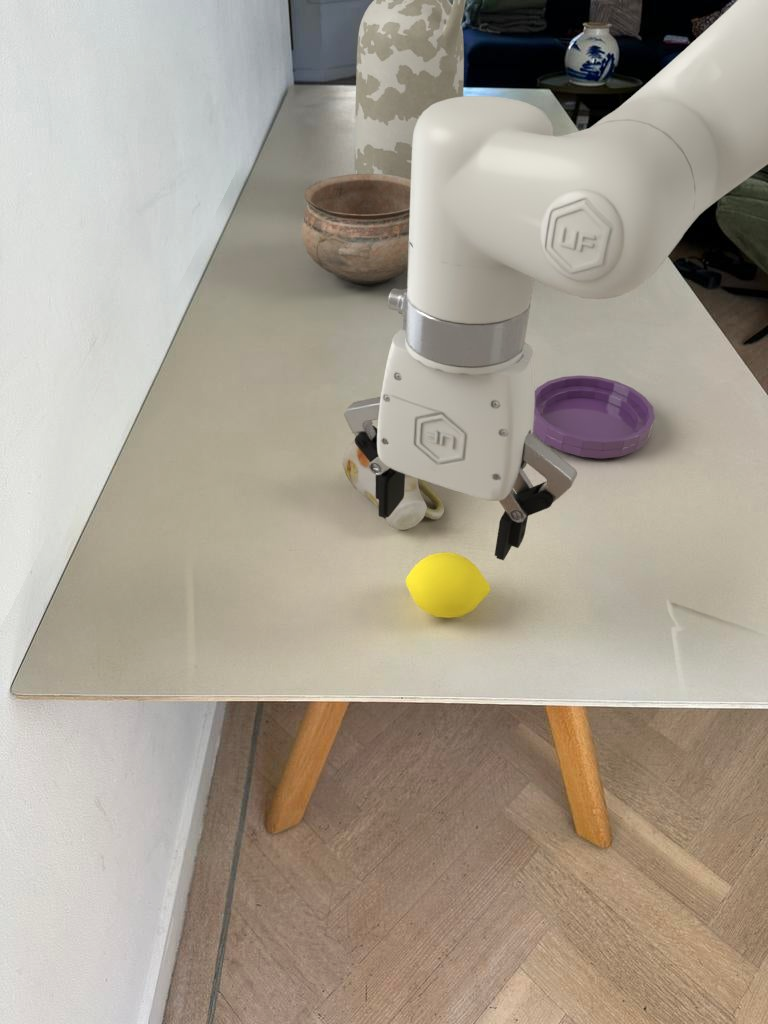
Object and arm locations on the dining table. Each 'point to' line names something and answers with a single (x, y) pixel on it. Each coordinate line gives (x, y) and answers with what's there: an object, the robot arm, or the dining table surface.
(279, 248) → the dining table surface
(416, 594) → the lemon
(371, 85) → the vase
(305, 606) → the dining table surface
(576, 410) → the dish
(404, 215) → the cooking pot
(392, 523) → the mug
